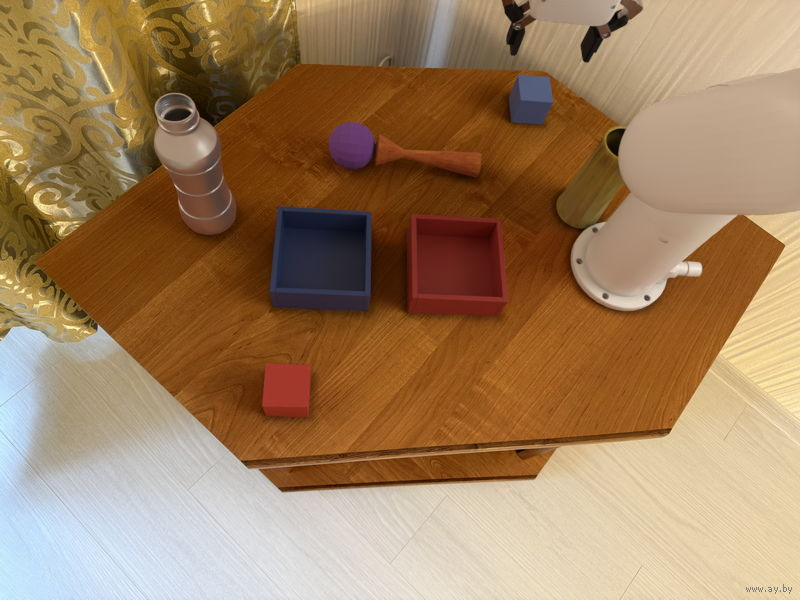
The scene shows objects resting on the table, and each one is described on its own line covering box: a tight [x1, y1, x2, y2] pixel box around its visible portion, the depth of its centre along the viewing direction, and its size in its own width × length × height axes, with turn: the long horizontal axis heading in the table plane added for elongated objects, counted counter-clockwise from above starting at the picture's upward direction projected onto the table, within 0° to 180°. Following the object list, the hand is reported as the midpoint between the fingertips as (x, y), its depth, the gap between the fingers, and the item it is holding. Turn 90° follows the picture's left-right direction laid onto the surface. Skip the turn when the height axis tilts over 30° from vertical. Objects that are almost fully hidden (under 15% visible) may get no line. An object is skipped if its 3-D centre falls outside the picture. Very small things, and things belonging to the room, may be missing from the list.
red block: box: [261, 362, 312, 418], centre depth 64 cm, size 5×5×5 cm
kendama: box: [328, 121, 483, 178], centre depth 78 cm, size 6×6×20 cm
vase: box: [555, 125, 628, 230], centre depth 74 cm, size 6×6×14 cm
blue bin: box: [269, 205, 373, 312], centre depth 71 cm, size 11×11×4 cm
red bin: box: [406, 213, 509, 317], centre depth 73 cm, size 11×11×4 cm
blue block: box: [508, 74, 554, 125], centre depth 85 cm, size 5×5×5 cm
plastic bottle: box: [153, 92, 238, 236], centre depth 65 cm, size 6×7×20 cm
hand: (548, 50), depth 77 cm, fingers open, 9 cm apart
